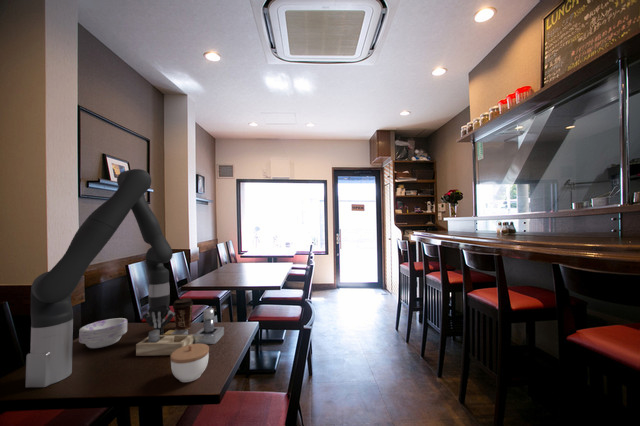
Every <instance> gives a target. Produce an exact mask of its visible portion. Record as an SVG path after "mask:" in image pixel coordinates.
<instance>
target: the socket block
mask: <svg viewBox="0 0 640 426" xmlns="http://www.w3.org/2000/svg"><path fill="white" fill-rule="evenodd" d="M193 334H194V335H193V344H206V345H215V344H217V342H218V341H219V340H220V339H221V338H222V337H223V336H224V335H225V327H224V326H214V333H213V334H204V326H203V327H202V328H201V329H199V330H198V331H197V332H195V333H193Z"/></svg>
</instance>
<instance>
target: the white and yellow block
mask: <svg viewBox="0 0 640 426" xmlns="http://www.w3.org/2000/svg"><path fill="white" fill-rule="evenodd" d="M188 334H189V329H188V330H175V329H169V330H168V331H166V332H165V333H163V335H188Z"/></svg>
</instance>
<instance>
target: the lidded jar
mask: <svg viewBox="0 0 640 426" xmlns="http://www.w3.org/2000/svg"><path fill="white" fill-rule="evenodd" d="M209 352H210V346H209V344H190V345H186V346H183V347H181V348H178V349H177V350H175V351H174V352H173V353H172V354H171V355H170V366H171V367H170V368H171V373H172V375H173V376H174V377H175V378H176V379H177V380H179V382H181V383H190V382H193V381H196V380H198V379H199V378H200V377H201V376H202V374H203V373H204V371H205V370H206V369H207V367H208V363H209V357H210V353H209Z"/></svg>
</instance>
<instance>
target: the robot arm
mask: <svg viewBox="0 0 640 426" xmlns="http://www.w3.org/2000/svg"><path fill="white" fill-rule="evenodd" d="M116 183H117V186H118V188H117V189H116V190H115V192H114V193H113V194H112V196H111V197H109V198H108V199H107V200H105V201H104V202H103V203H102V204H101V205H99V206H98V207H97V208H96V209H95V210H93V211H92V212H91V213H90V214H89V215H88V216H87V218H86V219H84V221H83V222H82V224H81V225H80V226H79V228H78V229H77V231H76V232H75V234H74V236H73V238H72V240H71V241H70V244H69V245H68V248H67V249H66V251H65V253H64V254H63V256H62V257H61V258H60V260H59V261H57V263H56V264H55V265H54V266H53V267H52V268H51V269H49V271H46V272H43V273H42V274H40V275H38V276H37V277H35V279H34V280H33V281H32V284H31V287H30V320H31V321H30V323H31V324H30V351H29V352H30V353H29V352H28V353H27V354H26V357H25V358H26V359H25V388H45V387H48V386H51V385H53V384H56V383H58V382H61V381H62V380H63V381H64V380H65V379H66V378H68V377H69V376H71V375H72V372H73V337H74V336H73V331H74V330H73V329H74V327H73V326H74V311H73V310H74V309H73V303H72V294H73V293H74V292H75V290H76V288H77V286H78V284H79V283H80V281H81V280H82V277H83V276H84V274H85V272H86V271H87V269H88V267H89V266H90V265H91V263H92V262H93V261H94V260H95V259H96V257H97V256H98V255H99V254H100V252H101V251H102V250H103V248H105V246H106V245H107V244H108V242H109V241H110V240H111V238H112V237H113V236H114V234H115V233H116V231H117V230H118V229H119V228H120V226H121V224H122V223H123V221H124V220H125V219H126V217H127V215H128V214H129V213H130V211H131V212H132V213H133V216H134V219H135V221H136V223H137V226H138V229H139V232H140V234H141V237H142V240H143V241H144V243H146V244H148V245H150V247H149V248H148V250H147V251H146V254H145V262H146V266H147V267H146V268H147V270H148V273H149V282H148V283H149V286H148V309H147V312H146V313H144V314H143V315H142V318H143V319H144V320H145V321H146V323H147V325H149V327H153V328H154V330H160V335H164V329H165V328H164V327H165V326H167V325H169V323H170V322H171V321H172V319H174V315H175V312H174V311H172V310H171V307H170V303H171V302H170V301H171V298H170V297H171V295H170V290H171V289H170V287H171V286H170V271H169V269H167V268H166V267H165V265H164V264H166V263H167V264H168V263H169V262H170V261H171V260H172V259H173V254H174V253H173V248H172V247H171V245H170V243H169V241H168V240H167V238H166V237H165V236H164V234H163V231H162V228H161V225H160V222H159V219H158V218H157V217H156V215H155V213H154V212H153V211H152V209H151V208H150V206H149V203H147V200H146V197H145V194H146V193H147V191H149V189H150V188H151V185H152V176H151V174H150V173H149V172H148V171H146V170H144V169H141V168H132V169H128V170H127V169H126V170H124V171H122V172H120V173H119V174H118V175H117V178H116ZM166 317H167V318H166Z"/></svg>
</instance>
